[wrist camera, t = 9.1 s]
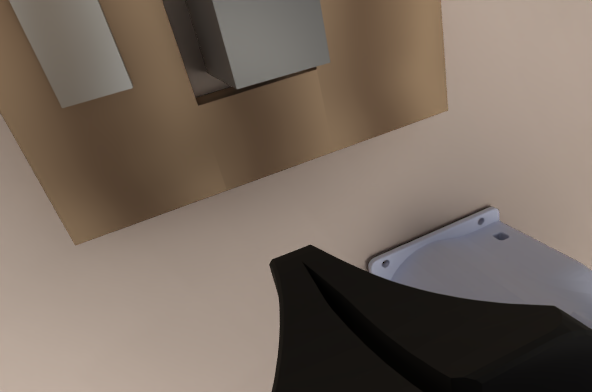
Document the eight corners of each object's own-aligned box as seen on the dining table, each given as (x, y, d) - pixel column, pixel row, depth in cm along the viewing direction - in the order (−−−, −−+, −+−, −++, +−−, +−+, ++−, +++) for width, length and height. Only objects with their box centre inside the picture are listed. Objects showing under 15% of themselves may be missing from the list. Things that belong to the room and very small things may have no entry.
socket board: (390, -243, 16) (437, -293, 14) (423, 104, 22) (459, 113, 20) (-137, -176, 12) (-206, -230, 10) (81, 225, 18) (72, 254, 16)
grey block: (250, -58, 17) (302, -99, 11) (275, 54, 18) (330, 62, 13) (172, -42, 16) (190, -79, 11) (207, 72, 18) (236, 89, 12)
